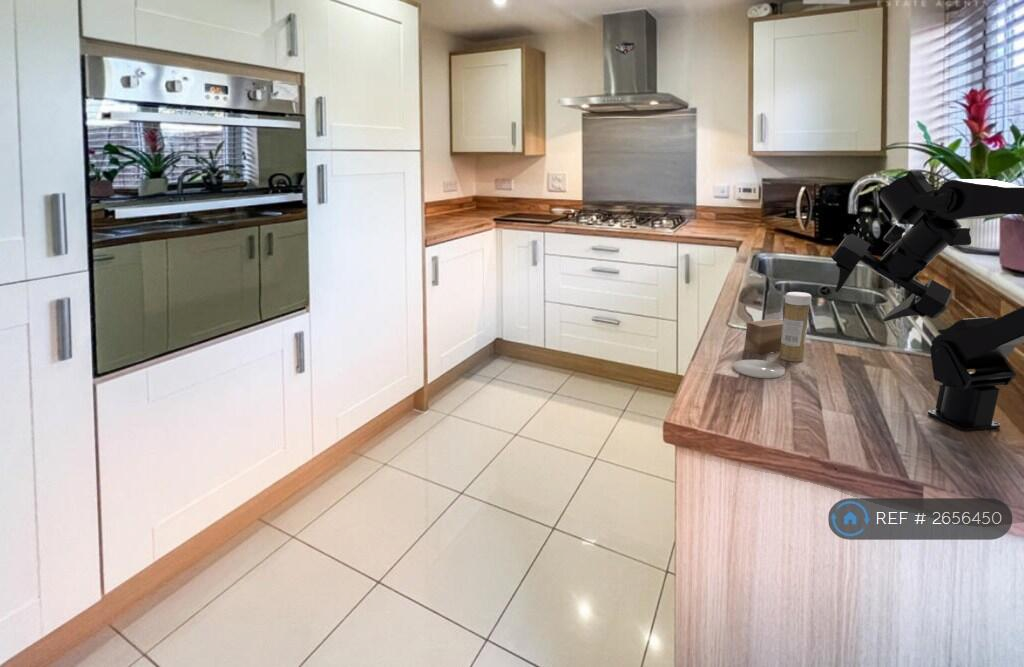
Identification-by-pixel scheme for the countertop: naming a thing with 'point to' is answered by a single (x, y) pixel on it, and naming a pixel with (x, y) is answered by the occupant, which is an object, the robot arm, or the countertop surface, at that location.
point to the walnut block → (764, 336)
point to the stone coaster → (759, 368)
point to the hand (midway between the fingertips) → (860, 305)
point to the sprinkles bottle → (794, 326)
